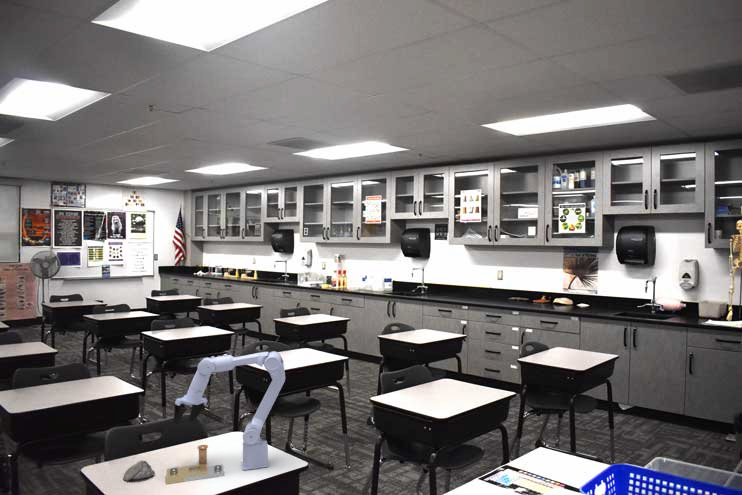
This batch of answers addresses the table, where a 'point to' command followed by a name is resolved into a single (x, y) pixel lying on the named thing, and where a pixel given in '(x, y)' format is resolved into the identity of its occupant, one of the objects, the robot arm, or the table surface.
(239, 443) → the table surface
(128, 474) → the gray rock
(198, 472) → the wooden peg board
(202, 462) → the pin
